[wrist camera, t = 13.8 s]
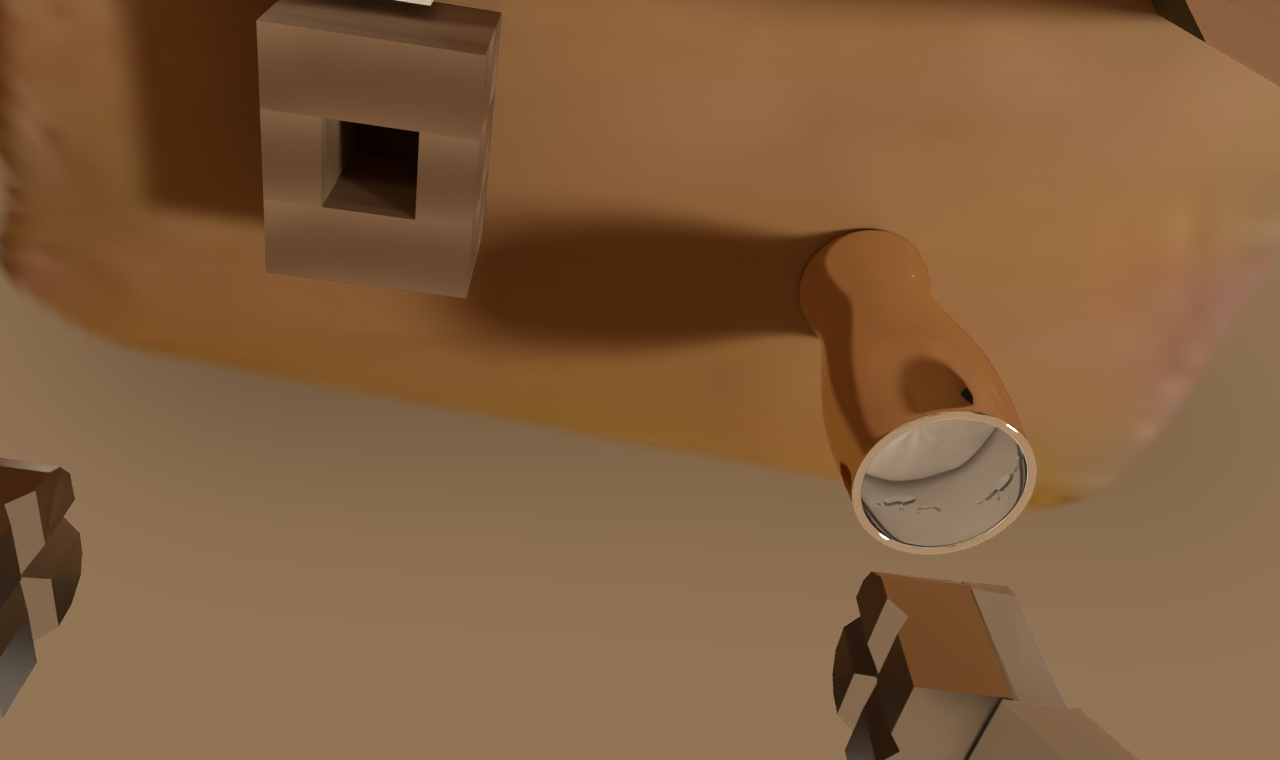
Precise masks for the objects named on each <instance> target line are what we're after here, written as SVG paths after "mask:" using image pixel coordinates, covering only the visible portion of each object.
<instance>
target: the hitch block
mask: <svg viewBox="0 0 1280 760" xmlns="http://www.w3.org/2000/svg"><path fill="white" fill-rule="evenodd" d="M500 22H501V13H499V12H493V11H487V10H481V9H474V8H468V7H462V6H455V5H449V4H443V3H436V2H432V4H431V6H429V5H422V4H416V3H410V2H403V1H397V0H278V1H277V2H276V3H275V4H274V5H273V6H272V7H271V8H269V9H268V10H267V11H266V12H265V13H264V14H263V15H262V16H260V17H259V18H258V19H257V20H256V25H257V50H258V75H259V101H260V126H261V151H262V176H263V202H264V227H265V252H266V272H268V273H275V274H283V275H291V276H298V277H306V278H314V279H321V280H329V281H337V282H344V283H352V284H359V285H367V286H375V287H382V288H390V289H398V290H405V291H413V292H420V293H428V294H436V295H443V296H451V297H459V298H466V297H467V293H468V289H469V286H470V282H471V278H472V274H473V270H474V266H475V262H476V258H477V254H478V250H479V246H480V242H481V239H482V234H483V222H484V210H485V198H486V187H487V175H488V163H489V151H490V140H491V128H492V116H493V104H494V93H495V81H496V69H497V57H498V46H499V34H500ZM355 123H362V124H368V125H375V126H382V127H389V128H396V129H403V130H409V131H416V132H419V150H418V159H411V158H404V157H397V156H390V155H383V154H376V153H369V152H362V151H355V150H354V148H355Z"/></svg>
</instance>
